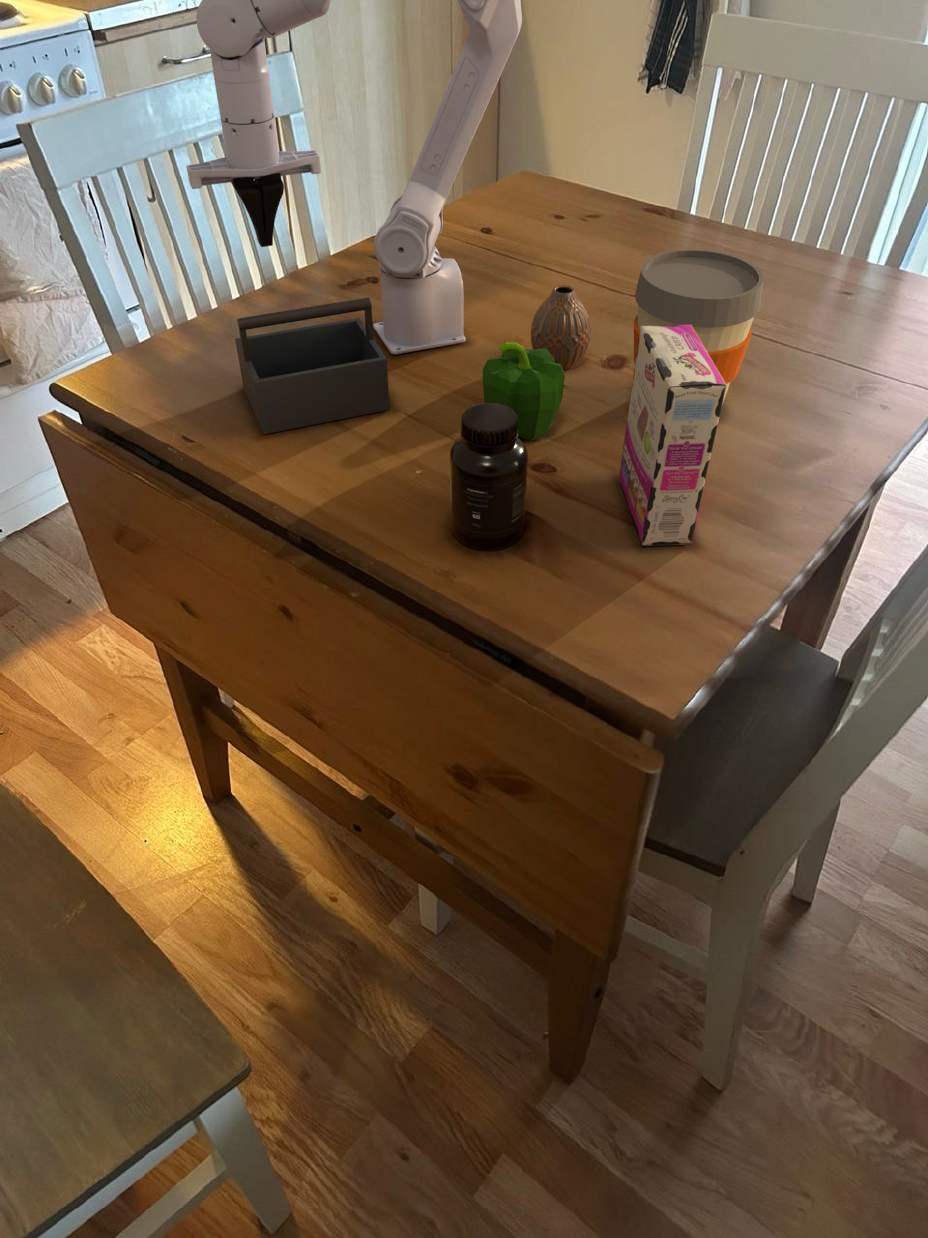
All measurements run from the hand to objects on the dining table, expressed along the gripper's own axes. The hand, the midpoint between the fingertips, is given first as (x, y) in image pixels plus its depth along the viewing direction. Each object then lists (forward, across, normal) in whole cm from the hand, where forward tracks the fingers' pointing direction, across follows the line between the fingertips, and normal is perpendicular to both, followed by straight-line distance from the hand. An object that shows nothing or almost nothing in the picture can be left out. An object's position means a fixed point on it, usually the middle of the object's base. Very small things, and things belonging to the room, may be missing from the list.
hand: (265, 243), depth 112 cm
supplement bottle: (+11, -9, +48) cm, 50 cm away
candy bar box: (+11, -25, +51) cm, 57 cm away
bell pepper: (+11, -19, +33) cm, 39 cm away
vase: (+11, -29, +21) cm, 37 cm away
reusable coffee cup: (+11, -37, +35) cm, 52 cm away
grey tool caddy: (+10, 0, +19) cm, 22 cm away
